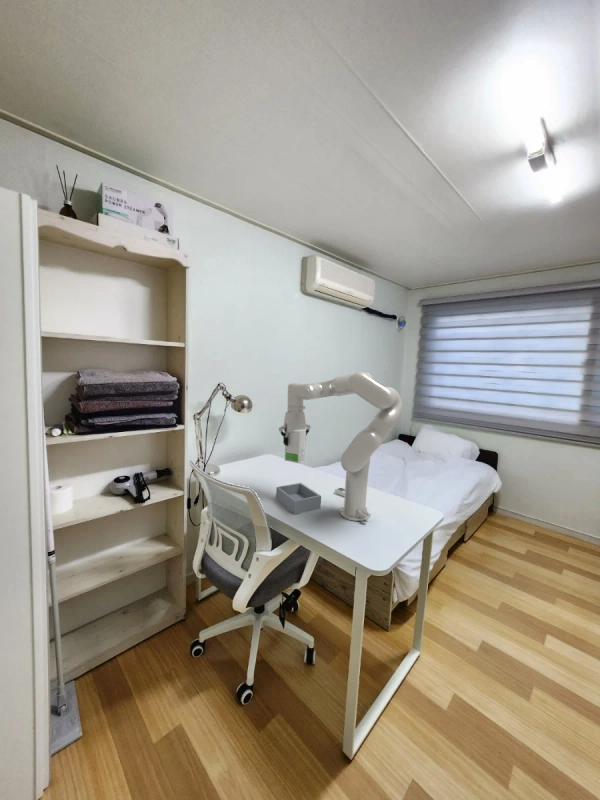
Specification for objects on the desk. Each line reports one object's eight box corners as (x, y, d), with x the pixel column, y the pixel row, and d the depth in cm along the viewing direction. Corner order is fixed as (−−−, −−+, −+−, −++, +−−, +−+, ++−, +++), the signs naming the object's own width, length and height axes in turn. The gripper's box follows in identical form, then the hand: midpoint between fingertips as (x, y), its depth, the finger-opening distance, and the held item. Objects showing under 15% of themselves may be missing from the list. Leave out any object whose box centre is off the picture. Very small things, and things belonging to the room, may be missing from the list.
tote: (320, 508, 143) (321, 495, 142) (294, 514, 135) (295, 501, 135) (300, 493, 158) (300, 482, 157) (276, 498, 150) (276, 487, 150)
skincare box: (284, 460, 149) (284, 429, 148) (291, 457, 155) (291, 427, 153) (299, 463, 145) (299, 430, 143) (305, 460, 150) (306, 428, 149)
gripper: (306, 407, 155) (305, 440, 157) (275, 409, 146) (275, 444, 148) (314, 409, 149) (313, 443, 150) (282, 410, 140) (282, 447, 142)
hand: (294, 444), depth 149 cm, fingers closed on skincare box, 9 cm apart
